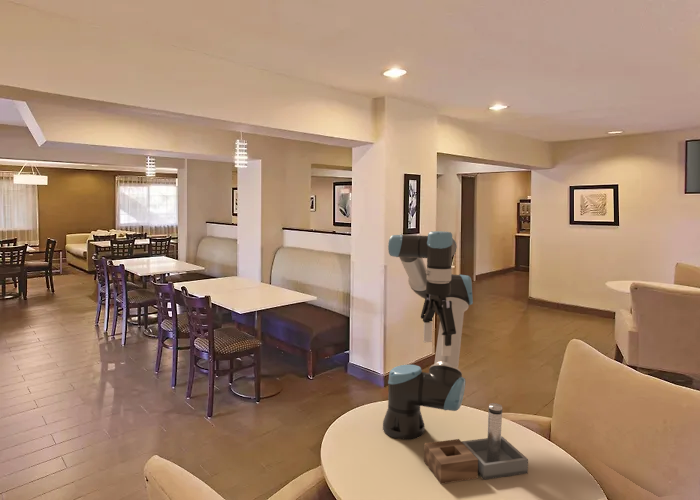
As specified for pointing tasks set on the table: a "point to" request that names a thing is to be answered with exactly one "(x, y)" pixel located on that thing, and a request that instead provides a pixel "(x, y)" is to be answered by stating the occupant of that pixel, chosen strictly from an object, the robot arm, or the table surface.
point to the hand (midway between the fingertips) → (436, 348)
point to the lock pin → (494, 432)
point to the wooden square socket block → (450, 461)
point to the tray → (507, 466)
